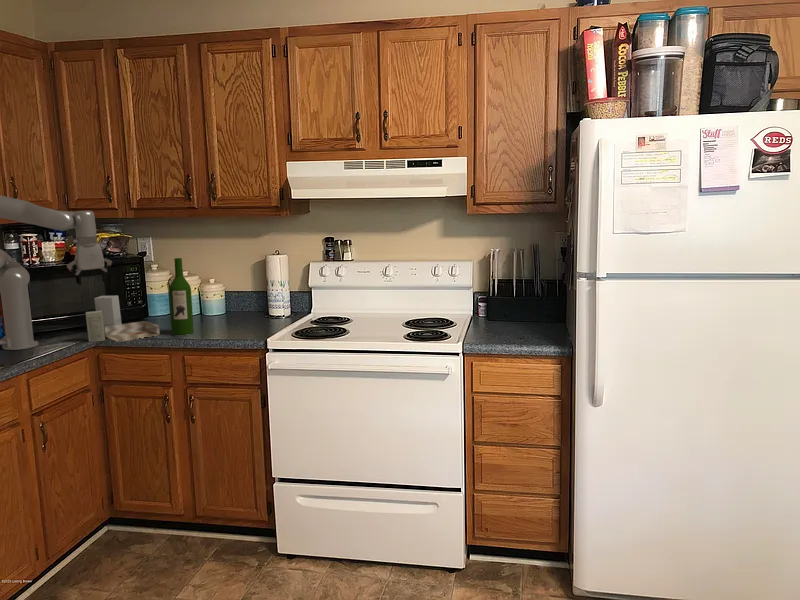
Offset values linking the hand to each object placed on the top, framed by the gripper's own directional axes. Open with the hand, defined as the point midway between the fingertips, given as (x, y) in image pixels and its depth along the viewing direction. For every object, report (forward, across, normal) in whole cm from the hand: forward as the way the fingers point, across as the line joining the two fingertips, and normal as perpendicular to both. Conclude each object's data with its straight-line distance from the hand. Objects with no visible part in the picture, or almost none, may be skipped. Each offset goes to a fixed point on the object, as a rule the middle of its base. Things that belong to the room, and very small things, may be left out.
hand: (92, 283), depth 279 cm
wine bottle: (+25, +31, -12) cm, 42 cm away
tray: (+24, +13, -2) cm, 28 cm away
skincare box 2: (+24, +10, +17) cm, 31 cm away
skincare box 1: (+24, -1, -1) cm, 24 cm away
